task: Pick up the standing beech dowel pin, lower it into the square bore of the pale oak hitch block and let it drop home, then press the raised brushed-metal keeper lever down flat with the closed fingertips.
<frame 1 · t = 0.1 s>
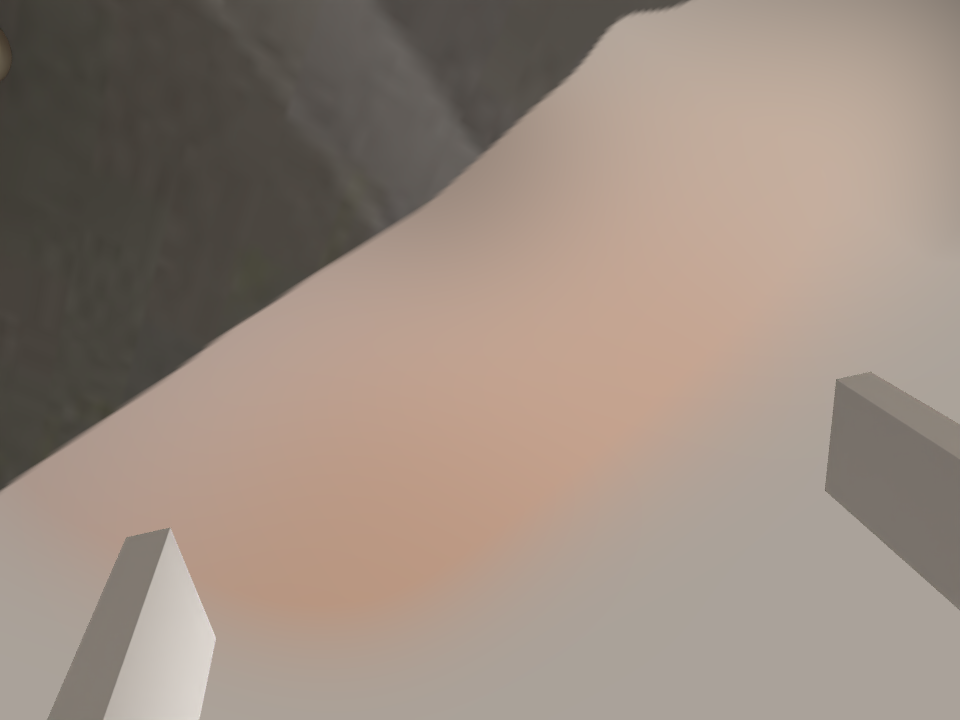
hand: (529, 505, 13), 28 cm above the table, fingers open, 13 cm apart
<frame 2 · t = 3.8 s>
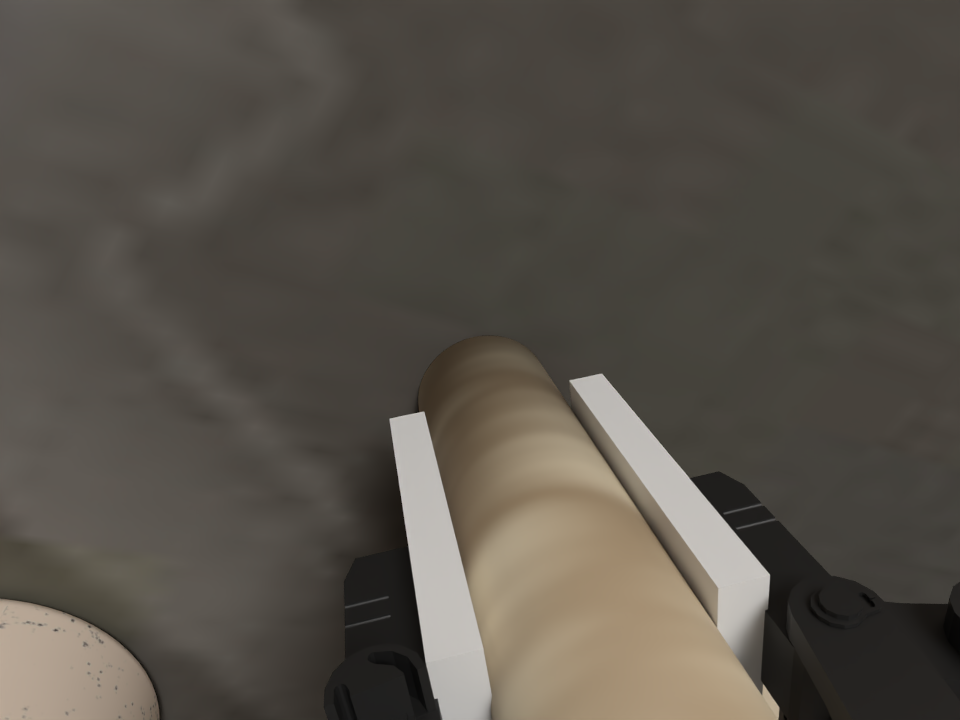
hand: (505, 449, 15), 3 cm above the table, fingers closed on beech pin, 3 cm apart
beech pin: (483, 396, 18), on the table, touching gripper
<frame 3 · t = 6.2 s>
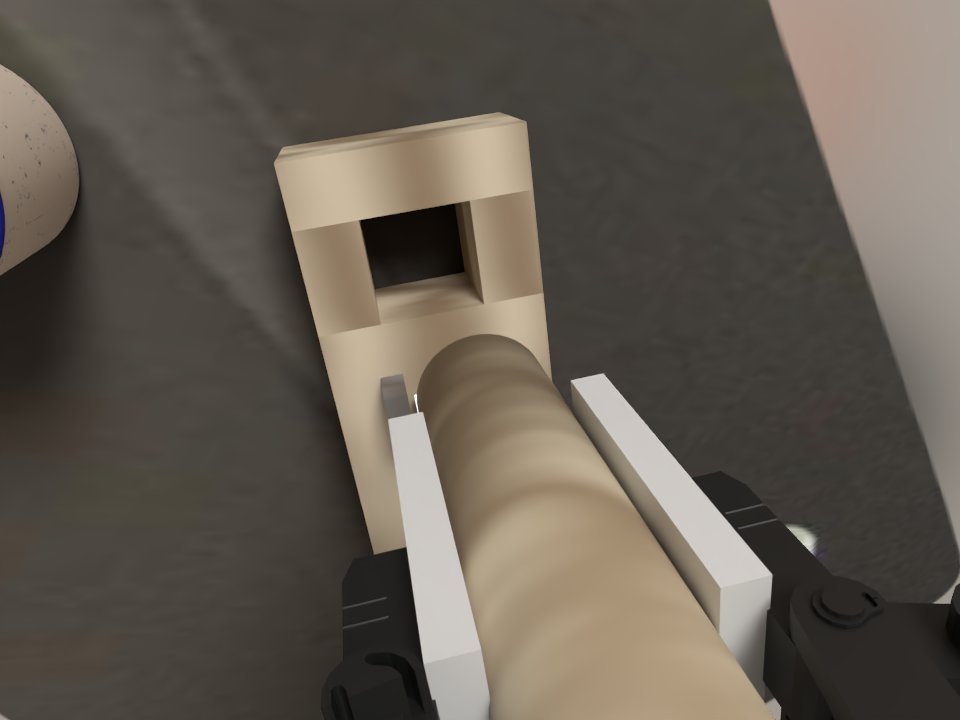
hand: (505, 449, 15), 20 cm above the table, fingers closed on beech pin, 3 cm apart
hitch block: (432, 347, 36), on the table
keeper lever: (475, 519, 30), point 9 cm above the table, hinge at 35.0°
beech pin: (481, 394, 18), point 17 cm above the table, touching gripper
when the fingers open (6 cm above the table, at t = 8.8 s): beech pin drops 3 cm, resting in hitch block.
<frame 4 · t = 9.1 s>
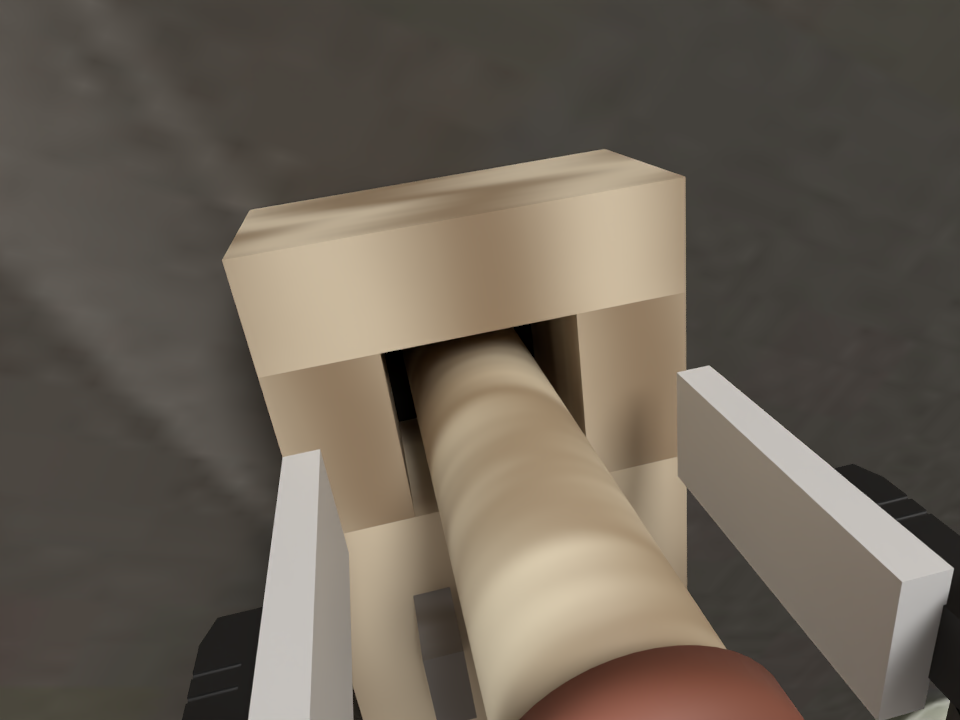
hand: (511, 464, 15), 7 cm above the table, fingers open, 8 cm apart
hitch block: (484, 499, 24), on the table
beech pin: (456, 342, 21), resting in hitch block
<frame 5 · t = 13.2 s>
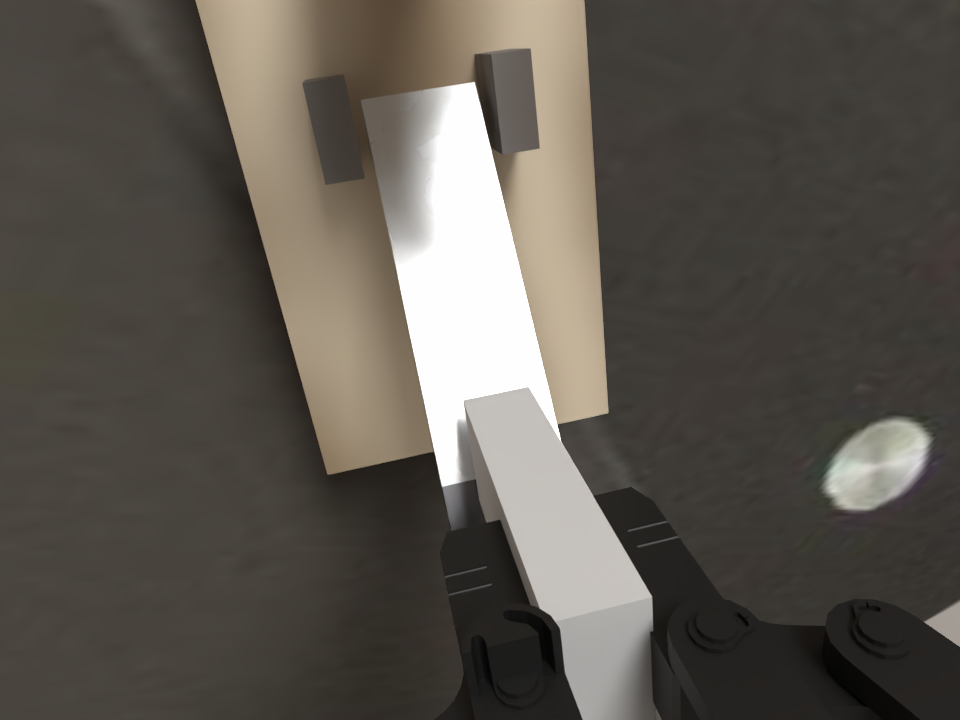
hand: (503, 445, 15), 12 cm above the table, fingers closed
hitch block: (401, 99, 23), on the table
keeper lever: (465, 308, 17), point 9 cm above the table, hinge at 34.8°, touching gripper
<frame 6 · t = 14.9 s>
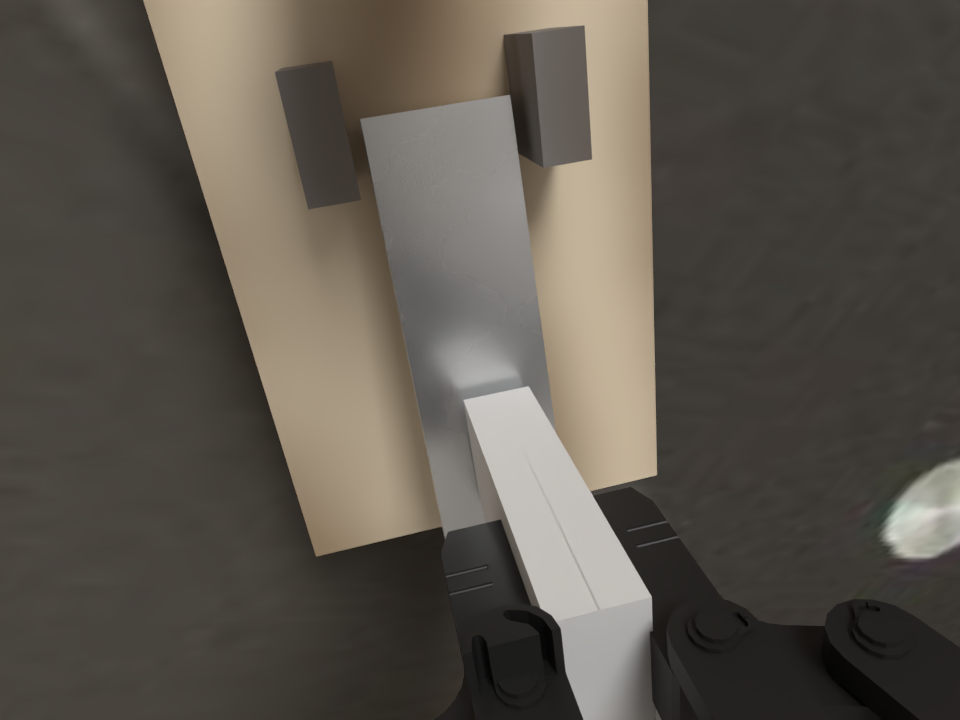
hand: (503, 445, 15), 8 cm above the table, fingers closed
hitch block: (404, 93, 19), on the table
keeper lever: (478, 374, 16), point 7 cm above the table, hinge at 8.1°, touching gripper
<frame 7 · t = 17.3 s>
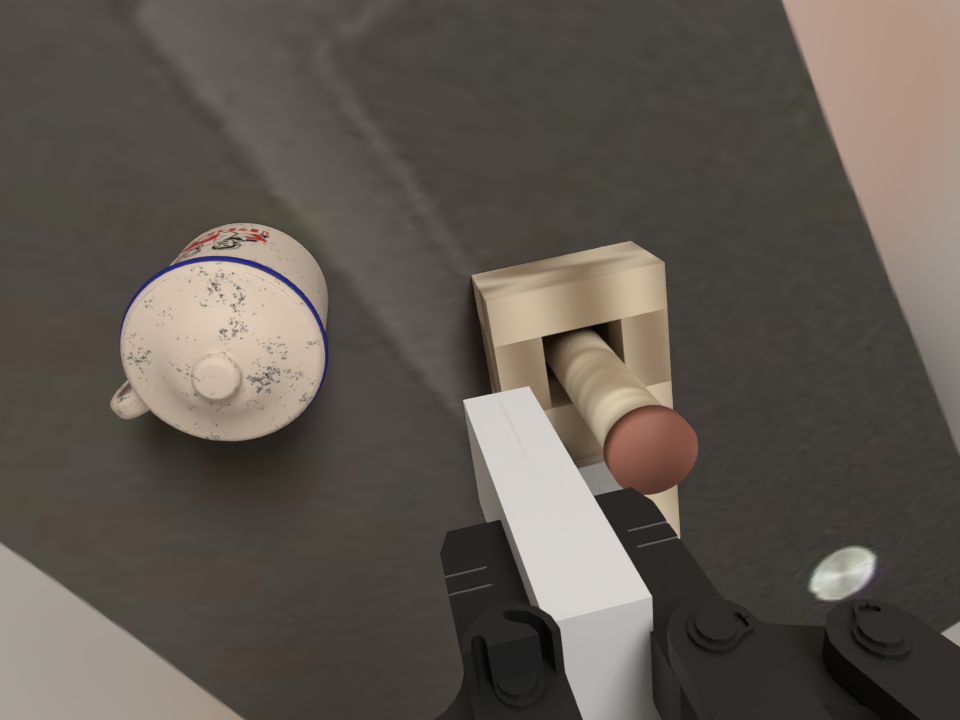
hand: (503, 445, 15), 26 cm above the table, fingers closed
hitch block: (571, 414, 46), on the table
teacup with lid: (231, 308, 39), on the table
keeper lever: (613, 543, 42), point 7 cm above the table, hinge at 8.0°
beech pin: (560, 333, 43), resting in hitch block
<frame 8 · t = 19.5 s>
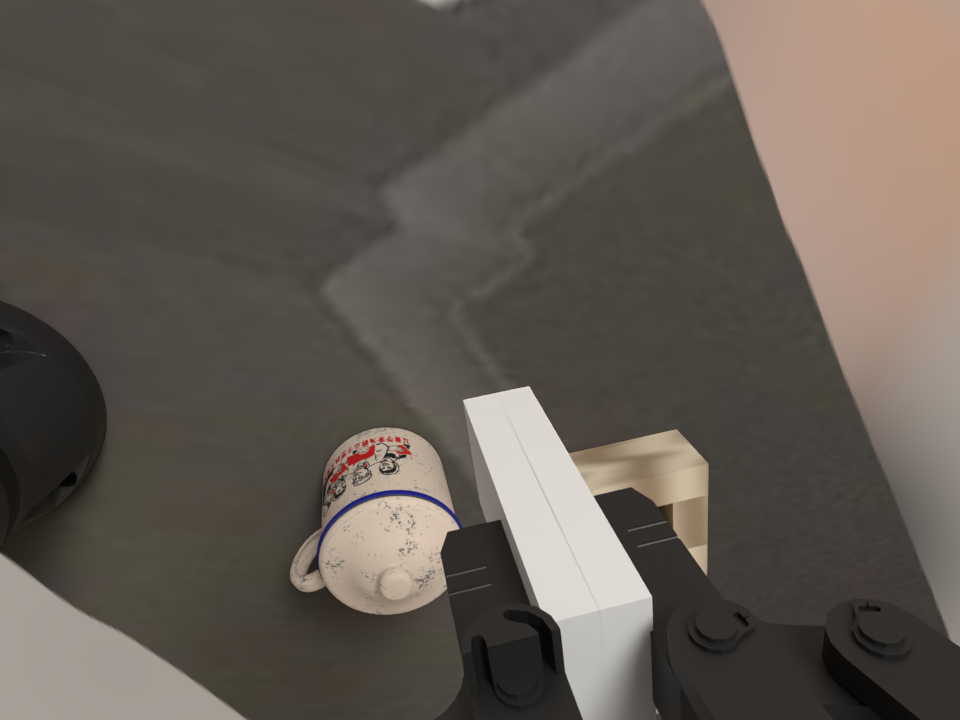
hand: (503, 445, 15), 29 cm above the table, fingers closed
hitch block: (621, 554, 57), on the table
teacup with lid: (366, 485, 50), on the table
keeper lever: (656, 665, 54), point 7 cm above the table, hinge at 8.0°
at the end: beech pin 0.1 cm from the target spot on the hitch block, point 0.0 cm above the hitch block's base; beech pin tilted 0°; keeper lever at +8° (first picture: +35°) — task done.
